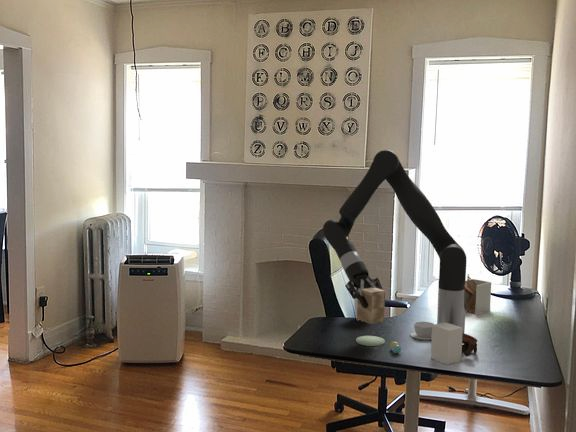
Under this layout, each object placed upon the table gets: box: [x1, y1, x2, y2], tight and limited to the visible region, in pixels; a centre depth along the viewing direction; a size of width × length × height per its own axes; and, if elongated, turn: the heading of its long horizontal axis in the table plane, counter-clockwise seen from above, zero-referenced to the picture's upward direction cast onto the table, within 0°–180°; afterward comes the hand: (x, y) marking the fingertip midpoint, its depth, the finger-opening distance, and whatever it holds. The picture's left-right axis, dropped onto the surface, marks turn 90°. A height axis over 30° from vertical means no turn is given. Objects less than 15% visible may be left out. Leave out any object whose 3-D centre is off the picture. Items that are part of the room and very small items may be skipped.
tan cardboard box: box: [356, 287, 386, 325], centre depth 218 cm, size 6×7×11 cm
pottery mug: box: [461, 332, 478, 358], centre depth 206 cm, size 12×10×8 cm
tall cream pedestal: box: [430, 322, 463, 365], centre depth 201 cm, size 6×7×11 cm
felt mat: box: [355, 335, 386, 347], centre depth 220 cm, size 10×10×1 cm
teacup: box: [410, 321, 435, 341], centre depth 227 cm, size 10×10×5 cm
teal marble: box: [391, 344, 402, 355], centre depth 207 cm, size 3×3×3 cm
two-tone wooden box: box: [464, 274, 492, 316], centre depth 264 cm, size 9×11×17 cm
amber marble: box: [390, 341, 400, 350], centre depth 210 cm, size 3×3×3 cm
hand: (374, 305), depth 217 cm, fingers closed on tan cardboard box, 6 cm apart
